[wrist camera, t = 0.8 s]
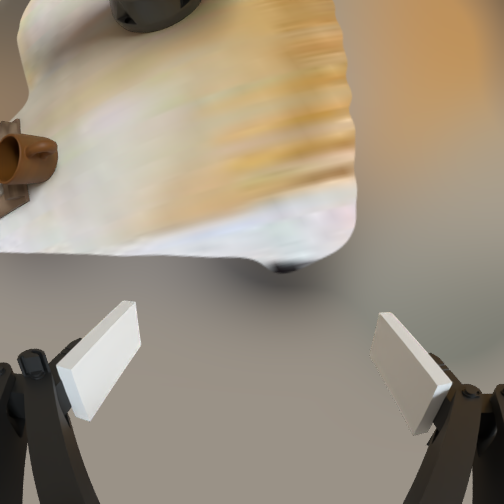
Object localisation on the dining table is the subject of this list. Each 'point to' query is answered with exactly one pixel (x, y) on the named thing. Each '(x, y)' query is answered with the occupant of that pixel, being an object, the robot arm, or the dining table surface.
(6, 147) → the mug
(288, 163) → the dining table surface
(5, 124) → the peg stand
